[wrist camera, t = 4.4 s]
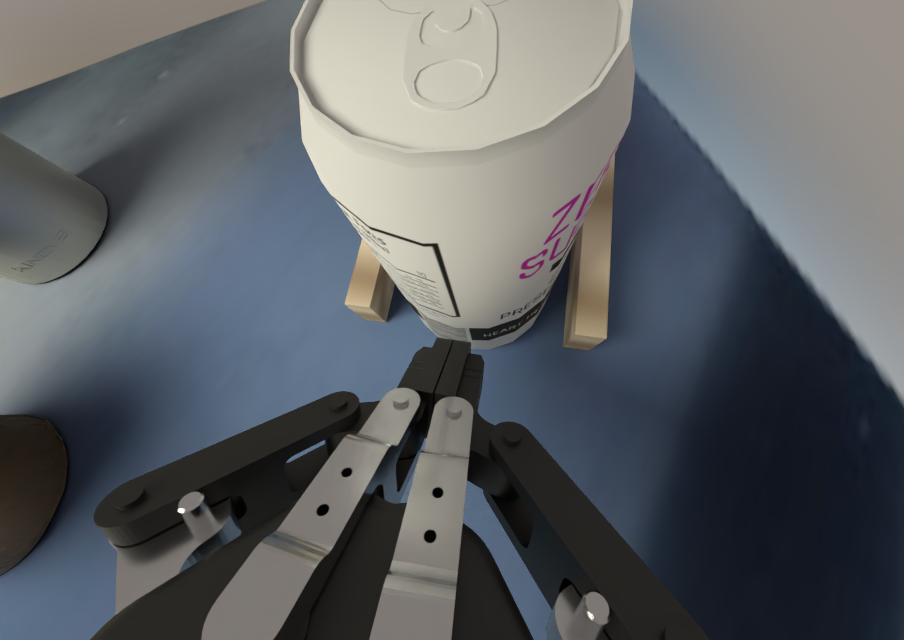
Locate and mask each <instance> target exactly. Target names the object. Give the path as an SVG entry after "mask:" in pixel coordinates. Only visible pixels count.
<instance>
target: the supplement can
mask: <svg viewBox="0 0 904 640" xmlns="http://www.w3.org/2000/svg"><path fill="white" fill-rule="evenodd" d="M632 5H633V0H305V2H304V4H303V6H302V8H301V10H300V12H299V15H298V17H297V19H296V21H295V23H294V25H293V27H292V29H291V41H290V73H291V75H292V77H293V79H294V81H295V83H296V85H297V87H298V90H299V104H300V119H301V133H302V142H303V144H304V146H305V148H306V150H307V152H308V154H309V157H310V159H311V161H312V163H313V165H314V167H315V169H316V171H317V173H318V176H319V178H320V180H321V182H322V183H323V184H324V186H325V187H326V189H327V190H328V191H329V193H330V194H331V196H332V197H333V198H334V200H335V201H336V202H337V204H338V205H339V207H340V208H341V209H342V211H343V212H344V214H345V215H346V216H347V218H348V219H349V220H350V222H351V223H352V225H353V226H354V227H355V229H356V230H357V232H358V233H359V234H360V236H361V237H362V238H363V240H364V241H365V243H366V244H367V245H368V247H369V248H370V250H371V251H372V252H373V254H374V255H375V256H376V258H377V259H378V261H379V262H380V263H381V265H382V266H383V268H384V269H385V270H386V272H387V273H388V274H389V276H390V277H391V279H392V280H393V281H394V283H395V284H396V286H397V287H398V288H399V290H400V291H401V292H402V294H403V295H404V297H405V298H406V299H407V301H408V302H409V304H410V305H411V306H412V308H413V309H414V310H415V312H416V313H417V315H418V316H419V317H420V319H421V320H422V322H423V323H424V324H425V326H426V327H428V328H429V329H430V330H431V331H432V332H433V333H434V334H435V335H437V336H438V337H439V338H445V339H452V340H459V341H466V342H471V349H481V350H490V349H493V348H496V347H499V346H502V345H505V344H508V343H511V342H513V341H514V340H516V339H517V338H518V337H519V336H521V335H522V334H523V333H524V332H526V331H527V330H528V329H529V328H531V327H532V325H533V324H534V322H535V320H536V318H537V317H538V315H539V313H540V312H541V310H542V308H543V307H544V304H545V302H546V300H547V298H548V296H549V294H550V292H551V289H552V287H553V285H554V283H555V281H556V279H557V277H558V274H559V272H560V270H561V268H562V266H563V264H564V262H565V259H566V257H567V255H568V253H569V251H570V249H571V247H572V245H573V242H574V240H575V238H576V236H577V234H578V232H579V230H580V227H581V225H582V223H583V221H584V219H585V217H586V215H587V212H588V210H589V208H590V206H591V204H592V202H593V200H594V197H595V195H596V193H597V191H598V189H599V187H600V185H601V182H602V180H603V178H604V176H605V174H606V172H607V170H608V167H609V165H610V163H611V161H612V159H613V157H614V155H615V152H616V150H617V148H618V146H619V144H620V142H621V140H622V137H623V135H624V133H625V131H626V129H627V127H628V125H629V122H630V119H631V109H632V99H633V89H634V79H635V67H634V60H633V53H632V45H631V38H630V23H631V14H632Z"/></svg>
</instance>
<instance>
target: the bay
mask: <svg viewBox="0 0 904 640" xmlns="http://www.w3.org/2000/svg"><path fill="white" fill-rule="evenodd" d="M614 165H615V155H614V157H613V159H612V161H611V163H610V165H609V167H608V170H607V172H606V174H605V176H604V178H603V180H602V182H601V185H600V187H599V189H598V191H597V193H596V195H595V197H594V200H593V202H592V204H591V206H590V208H589V210H588V212H587V215H586V217H585V219H584V221H583V223H582V225H581V227H580V230H579V232H578V234H577V236H576V238H575V240H574V242H573V245H572V247H571V252H570V265H569V277H568V289H567V302H566V314H565V326H564V339H563V347H568V348H575V349H582V350H591V349H592V348H594V347H595V346H597V345H598V344H600V343H601V342H603V341H604V340H605V339H607V321H608V299H609V276H610V254H611V232H612V210H613V187H614ZM394 287H395V283H394V281H393V280H392V279H391V277H390V276H389V274H388V273H387V272H386V270H385V269H384V268H383V266H382V265H381V263H380V262H379V261H378V259H377V258H376V256H375V255H374V254H373V252H372V251H371V250H370V248H369V247H368V245H367V244H366V243H365V241H364V240H363V238H362V242H361V245H360V249H359V253H358V256H357V260H356V264H355V267H354V271H353V275H352V278H351V282H350V286H349V289H348V293H347V297H346V300H345V305H346V306H348V307H349V308H350V309H351V310H353V311H354V312H355V313H357V314H358V315H359V316H361V317H362V318H363V319H365V320H372V321H380V322H386V321H387V317H388V312H389V308H390V304H391V299H392V295H393V291H394Z"/></svg>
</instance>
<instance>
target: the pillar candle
mask: <svg viewBox="0 0 904 640" xmlns="http://www.w3.org/2000/svg"><path fill="white" fill-rule="evenodd" d="M56 431H57V430H55V427H54V426H53V425H52V424H51V423H50V422H49V421H48V420H46V419H44V420H43V419H40V418H34V417H32V416H30V415H0V575H1V574H3V573H5V572H6V571H8V570H9V569H11V568H12V567H13V566H15V565H16V564H17V563H18V562H20V561H21V559H22V558H23V557H25V556H26V555H27V554H28V553H29V552H30V551H31V550H32V548H33V547H34V546H35V545H36V544H37V542H38V541H39V539H40V538H41V536H42V535H43V533H44V531H45V530H46V528H47V526H48V524H49V522H50V520H51V518H52V516H53V514H54V512H55V510H56V508H57V506H58V504H59V502H60V500H61V497H62V495H63V491H64V488H65V484H66V481H65V480H66V478H67V462H68V459H67V457H66V456H67V454H66V449H65V446H64V443H63V439H62V438H61V437H60V436H59V434H58V432H56Z"/></svg>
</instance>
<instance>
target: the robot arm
mask: <svg viewBox="0 0 904 640" xmlns="http://www.w3.org/2000/svg"><path fill="white" fill-rule="evenodd" d="M106 220H107V204H106V201H105V198H104V196H103V195H102V193H101V192H100V191H99V190H97V189H96V188H95V187H93V186H91V185H90V184H88V183H86V182H84V181H83V180H81V179H79V178H78V177H76V176H74V175H72V174H71V173H69V172H67V171H65V170H64V169H62V168H60V167H59V166H57V165H55V164H53V163H52V162H50V161H48V160H47V159H45V158H43V157H41V156H40V155H38V154H36V153H35V152H33V151H31V150H30V149H28V148H26V147H25V146H23V145H21V144H19V143H18V142H16V141H14V140H12V139H11V138H9V137H7V136H6V135H4V134H2V133H0V277H3V278H6V279H10V280H13V281H16V282H20V283H26V284H38V283H43V282H47V281H50V280H53V279H55V278H57V277H60V276H62V275H64V274H65V273H67V272H68V271H70V270H71V269H73V268H74V267H76V266H77V265H78V264H79V263H80V262H81V261H82V260H83V259H84V258H86V256H87V255H88V254H89V253H90V252H91V250H92V249H93V248H94V247H95V245H96V243H97V242H98V240H99V239H100V237H101V235H102V232H103V230H104V228H105V225H106ZM483 372H484V361H483V359H482V356H481V355H476V354H471V342H466V341H459V340H452V339H445V338H438V337H437V339H436V341H435V343H434V345H433V347H432V348H429V347H423V348H422V349H420V350H419V351H417V352H416V353H415V355H414V357H413V359H412V362H411V363H410V365H409V368H407V370H406V372H405V374H404V376H403V378H402V380H401V382H400V384H399V385H398V387H397V389H393V390H391V391H389V392H388V393H386V394H385V395H384V397H383V398H382V400H381V401H376V402H364V403H359V398H358V397H357V396H356V395H355V394H353V393H351V392H346V391H341V392H336V393H332V394H330V395H328V396H325V397H323V398H321V399H318V400H316V401H314V402H311V403H309V404H307V405H304V406H302V407H300V408H297V409H295V410H293V411H290V412H288V413H286V414H283V415H281V416H279V417H277V418H274V419H272V420H270V421H267V422H265V423H263V424H260V425H258V426H256V427H253V428H251V429H249V430H246V431H244V432H242V433H239V434H237V435H235V436H232V437H230V438H228V439H225V440H223V441H221V442H219V443H216V444H214V445H212V446H209V447H207V448H205V449H202V450H200V451H198V452H195V453H193V454H191V455H188V456H186V457H184V458H181V459H179V460H177V461H174V462H172V463H170V464H167V465H165V466H163V467H160V468H158V469H156V470H154V471H151V472H149V473H147V474H144V475H142V476H140V477H137V478H135V479H133V480H130V481H128V482H126V483H124V484H123V485H121V486H119V487H118V488H116V489H115V490H113V491H112V492H111V493H110V494H109V495H107V496H106V497H105V498H104V499H103V500H102V502H101V503H100V504H99V505H98V507H97V509H96V511H95V513H94V522H95V523H96V525H97V526H98V527H99V528H100V529H101V530H102V532H103V533H104V534H105V535H106V536H107V537H108V538H109V543H110V544H111V545H112V546H113V548H114V549H115V550H116V551H117V575H116V612H115V616H114V617H113V618H112V619H111V620H110V621H108V622H107V623H106V624H105V625H104V626H103V627H102V628H101V629H100V630H99V631H98V632H97V633H96V634H95V635H94V636H93V637H92V638H91V639H90V640H534V639H533V637H532V635H531V633H530V631H529V629H528V627H527V625H526V623H525V621H524V619H523V617H522V615H521V613H520V611H519V609H518V607H517V605H516V603H515V601H514V599H513V597H512V595H511V593H510V591H509V589H508V587H507V585H506V583H505V580H504V578H503V576H502V574H501V572H500V570H499V568H498V566H497V564H496V562H495V560H494V558H493V556H492V554H491V553H490V551H489V549H488V548H487V546H486V545H485V543H484V542H483V541H482V540H481V538H480V537H479V536H478V535H477V534H476V533H475V532H474V531H473V530H472V529H470V528H469V527H468V526H466V525H465V524H463V514H464V504H465V493H466V483H467V480H468V481H469V482H471V483H473V484H475V485H476V486H478V487H480V488H482V489H483V493H484V496H485V498H486V500H487V502H488V503H489V505H490V507H491V508H492V510H493V512H494V513H495V515H496V517H497V518H498V520H499V522H500V523H501V525H502V527H503V528H504V530H505V532H506V533H507V535H508V537H509V538H510V540H511V542H512V543H513V545H514V547H515V548H516V550H517V552H518V553H519V555H520V557H521V559H522V560H523V562H524V564H525V565H526V567H527V569H528V570H529V572H530V574H531V575H532V577H533V579H534V580H535V582H536V584H537V585H538V587H539V589H540V590H541V592H542V594H543V595H544V597H545V599H546V600H547V602H548V604H549V605H550V607H551V609H552V612H551V614H550V617H549V619H548V623H547V640H710V639H709V638H708V637H707V635H706V634H705V632H704V631H703V630H702V629H701V627H700V626H699V625H698V624H697V623H696V622H695V620H694V619H693V618H692V617H691V616H690V615H689V614H688V612H687V611H686V610H685V609H684V608H683V607H682V606H681V604H680V603H679V602H678V601H677V600H676V599H675V598H674V596H673V595H672V594H671V593H670V592H669V591H668V589H667V588H666V587H665V586H664V585H663V584H662V583H661V581H660V580H659V579H658V578H657V577H656V576H655V575H654V573H653V572H652V571H651V570H650V569H649V568H648V567H647V565H646V564H645V563H644V562H643V561H642V560H641V559H640V557H639V556H638V555H637V554H636V553H635V552H634V551H633V549H632V548H631V547H630V546H629V545H628V544H627V543H626V541H625V540H624V539H623V538H622V537H621V536H620V535H619V533H618V532H617V531H616V530H615V529H614V528H613V527H612V525H611V524H610V523H609V522H608V521H607V520H606V519H605V517H604V516H603V515H602V514H601V513H600V512H599V511H598V509H597V508H596V507H595V506H594V505H593V504H592V503H591V501H590V500H589V499H588V498H587V497H586V496H585V495H584V493H583V492H582V491H581V490H580V489H579V488H578V487H577V485H576V484H575V483H574V482H573V481H572V480H571V479H570V477H569V476H568V475H567V474H566V473H565V472H564V471H563V469H562V468H561V467H560V466H559V465H558V464H557V462H556V461H555V460H554V459H553V458H552V457H551V456H550V454H549V453H548V452H547V451H546V450H545V449H544V448H543V446H542V445H541V444H540V443H539V442H538V441H537V440H536V438H535V437H534V436H533V435H532V434H531V433H530V432H529V431H528V430H527V429H526V428H525V427H524V426H522V425H520V424H518V423H514V422H502V423H499V424H497V425H496V426H495V425H493V424H490V423H489V422H487V421H485V420H484V419H483V418H482V417H481V416H480V415H479V414H478V412H477V411H478V406H479V400H480V395H481V390H482V381H483ZM424 438H427V440H426V444H425V448H424V451H421V447H422V444H423V441H424ZM323 440H325V443H326V444H324V445H322V446H320V447H318V448H316V449H314V450H312V451H310V452H309V453H307V454H305V455H303V456H301V457H299V458H297V459H295V460H293V461H291V462H289V463H286V462H287V460H288V459H289V458H291V457H292V456H294V455H296V454H298V453H299V452H301V451H303V450H305V449H307V448H309V447H311V446H313V445H315V444H317V443H319V442H321V441H323ZM416 464H417V466H416ZM415 466H416V470H415V474H414V478H413V482H412V486H411V490H410V494H409V498H408V501H407V503H400V501H401V498H402V496H403V494H404V491H405V489H406V487H407V485H408V482H409V480H410V478H411V475H412V473H413V471H414V469H415Z"/></svg>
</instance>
